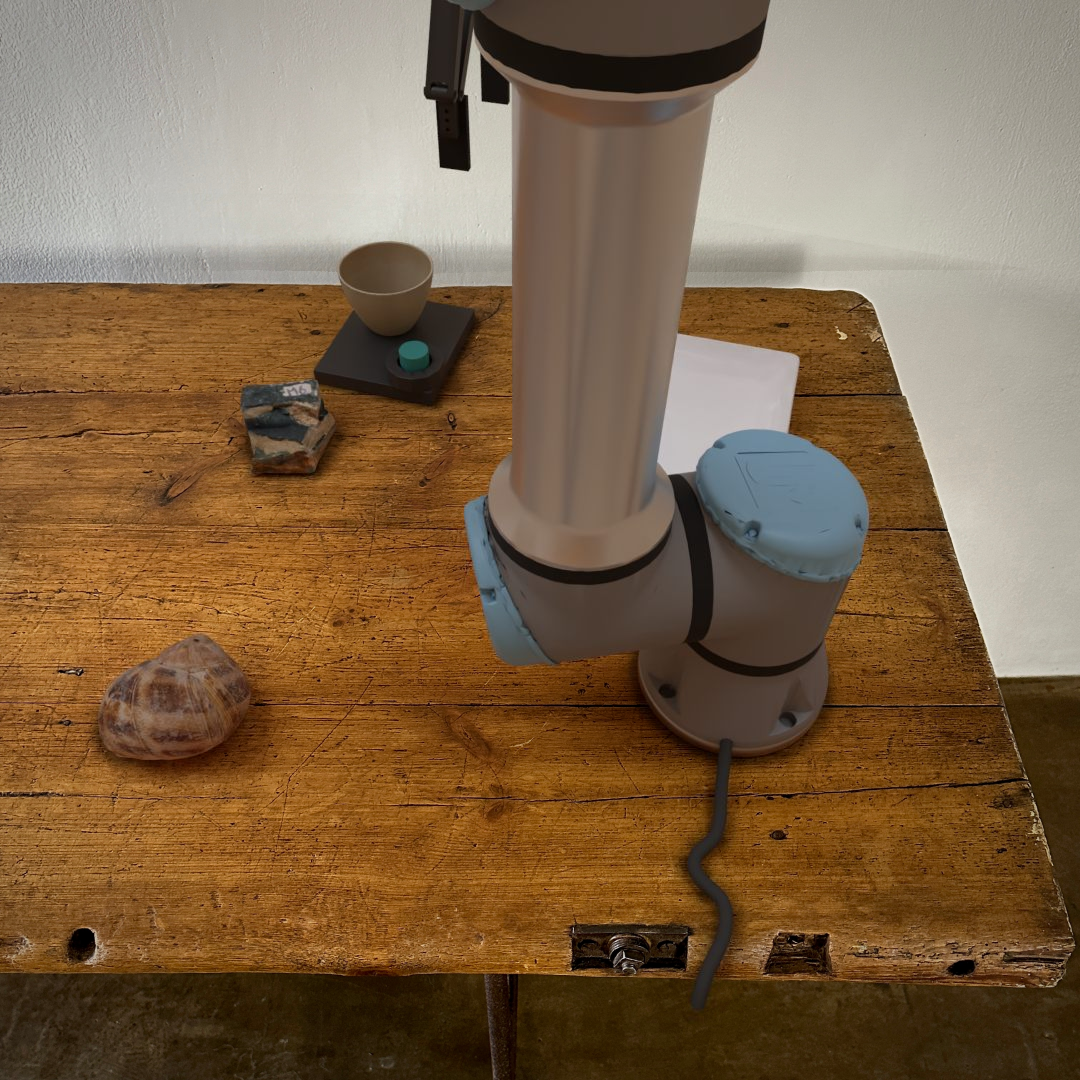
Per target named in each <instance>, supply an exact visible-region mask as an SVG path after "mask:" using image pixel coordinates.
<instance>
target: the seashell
mask: <svg viewBox="0 0 1080 1080" xmlns="http://www.w3.org/2000/svg"><path fill="white" fill-rule="evenodd" d="M251 692H252V691H251V687H250V683H249V681H248V678H247V676H246V673H245V672H244V671H243V669H242V668H241V666H240V665H239V663H238V662H237V661H236V660H235V659H233V657H231V656H230V655H229V654H228V653H227V652H226V651H225V650H224V648H223V647H222V646H221V645H220V644H219V643H217V642H216V641H215V640H213V639H212V638H211V637H210V636H208V635H206V634H204V633H195V634H193V635H191V636H187V637H186V638H184V639H182V640H180V641H177V642H175V643H172V644H170V645H169V646H167V647H166V648H164V649H162V650H161V652H160V653H159V654H158V656H157V657H156V658H152V659H147V660H144V661H142V662H140V663H138V664H135V665H134V666H131V667H129V668H127V669H126V670H124V671H123V672H122V673H121V674H120V675H118V676H117V677H116V678H115V679H113V680H112V681H111V683H110V684H109V686H108V687H107V689H106V691H105V693H103V696H102V697H101V702H100V704H99V708H98V714H97V724H98V729H99V736H100V739H101V741H102V743H103V745H104V746H105V748H106V750H107V751H110V752H112V753H113V754H114V755H115V756H116V757H119V758H131V759H137V760H141V761H145V760H146V761H149V760H151V761H158V760H172V761H173V760H179V759H186V758H189V757H194V756H198V755H200V754H203V753H205V752H208V751H210V750H212V749H213V748H215V747H217V746H218V745H220V744H222V743H224V742H226V741H227V740H229V738H230V736H231V735H232V734H233V733H234V731H235V730H237V729H238V726H239V725H240V723H242V721H243V719H244V718H245V716H246V714H247V711H248V709H249V707H250V702H251V698H252V697H251V696H252V693H251Z"/></svg>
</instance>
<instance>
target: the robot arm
mask: <svg viewBox="0 0 1080 1080" xmlns="http://www.w3.org/2000/svg"><path fill="white" fill-rule="evenodd" d="M770 4H771V0H430V10H429V12H430V13H429V26H428V27H429V28H428V42H427V55H426V57H427V58H426V68H425V69H426V70H425V72H426V73H425V83H424V84H425V86H423V96H424V98H425V99H426V100H428V101H435V116H436V118H435V119H436V129H437V130H436V131H437V133H436V134H437V146H438V147H437V148H438V163H439V169H447V170H453V171H461V172H467V173H468V172H470V170H471V168H472V162H471V161H472V159H471V158H472V157H471V135H470V133H471V132H470V110H469V108H470V107H469V95H468V94H465V89H466V82H467V76H468V68H469V60H470V54H471V48H472V42H473V38H474V43H475V45H476V47H477V50H478V51H479V59H480V60H479V62H480V63H479V64H480V95H481V96H480V97H481V98H480V100H481V102H482V103H490V104H497V105H503V106H504V105H505V106H508V105H509V104H510V102H511V332H512V333H511V358H512V359H511V394H512V395H511V404H512V405H511V413H512V418H511V419H512V420H511V421H512V423H511V424H512V425H511V426H512V428H511V429H512V432H511V433H512V435H511V437H512V438H511V440H512V441H511V442H512V445H511V447H512V451H510V452H509V453H508V454H507V455H506V456H505V457H504V458H503V459H502V460H501V461H500V462H499V464H497V467H496V468H495V470H494V472H493V474H492V475H491V478H490V482H489V487H488V493H487V494H482V495H480V496H478V498H475V499H472V500H470V501H469V500H468V502H467V503H466V504H465V505H464V508H463V518H464V519H463V520H464V524H465V530H466V536H467V541H468V546H469V547H468V548H469V552H470V556H471V561H472V566H473V571H474V576H475V579H476V584H477V586H478V592H479V597H480V600H481V607H482V611H483V615H484V620H485V623H486V628H487V631H488V636H489V639H490V642H491V646H492V648H493V651H494V654H495V655H496V656H497V658H499V660H501V662H503V663H504V664H506V665H508V666H511V667H527V666H536V665H547V666H551V667H552V666H553V667H556V666H558V665H561V664H562V663H569V662H574V661H575V662H576V661H581V660H587V659H594V658H599V657H600V658H601V657H606V656H614V655H619V654H626V653H633V652H638V656H637V668H636V669H637V679H638V683H639V688H640V690H641V693H642V695H643V698H644V700H645V701H646V703H647V706H648V707H649V708H650V710H651V712H652V713H653V714H654V716H655V717H656V718H657V719H658V720H659V721H660V722H661V723H662V724H663V725H664V727H666V728H667V729H668V730H669V731H670V732H671V733H673V734H674V735H675V736H677V737H678V738H679V739H682V740H683V741H685V742H687V743H688V744H690V745H693V746H695V747H697V748H699V749H702V750H704V751H707V752H710V753H713V754H716V755H718V757H717V765H716V766H717V767H716V774H715V782H714V794H713V795H714V797H713V799H714V800H713V816H712V822H711V825H710V827H709V831H708V833H707V834H706V836H705V837H703V839H701V840H699V842H698V843H696V844H695V845H694V846H693V847H692V848H691V850H690V851H689V854H688V857H687V872H688V875H689V877H690V879H691V880H692V882H693V883H694V884H695V885H696V886H697V887H698V889H700V890H701V892H703V893H704V894H705V895H706V896H708V898H710V899H711V900H712V901H713V903H714V904H715V906H716V907H717V908H716V909H717V912H718V928H717V932H716V934H715V937H714V939H713V941H712V944H711V946H710V947H709V950H708V952H707V954H706V955H705V957H704V960H703V961H702V964H701V965H700V967H699V971H698V973H697V976H696V979H695V982H694V985H693V989H692V992H691V995H690V1005H691V1007H692V1009H693V1010H695V1011H697V1012H700V1011H702V1010H704V1008H705V1006H706V1003H707V999H708V996H709V992H710V989H711V985H712V982H713V980H714V978H715V975H716V973H717V971H718V969H719V966H720V965H721V963H722V960H723V958H724V957H725V955H726V952H727V950H728V948H729V945H730V942H731V939H732V935H733V929H734V911H733V907H732V903H731V900H730V898H729V896H728V895H727V893H726V892H725V891H724V890H723V888H721V886H719V885H718V884H717V883H716V882H714V881H713V880H712V879H711V878H710V877H709V876H708V875H707V873H705V871H704V870H703V868H702V861H703V859H704V858H705V857H706V856H707V855H709V854H710V853H711V852H712V851H713V850H714V849H715V848H716V847H717V846H718V845H719V844H720V842H721V840H722V838H723V836H724V833H725V829H726V825H727V819H728V818H727V817H728V795H729V782H730V773H731V763H732V757H735V758H736V757H737V758H751V757H759V756H765V755H769V754H773V753H776V752H778V751H781V750H784V749H785V748H788V747H790V746H791V745H793V744H794V743H796V742H798V741H799V740H800V739H801V738H802V737H804V736H805V734H807V732H808V731H810V729H811V728H812V726H813V725H814V724H815V722H816V721H817V718H818V717H819V714H820V712H821V710H822V708H823V705H824V703H825V700H826V697H827V692H828V687H829V686H828V685H829V675H830V673H829V663H828V656H827V655H828V654H827V647H826V639H825V638H826V635H827V634H828V631H829V629H830V627H831V623H832V622H833V619H834V617H835V614H836V612H837V609H838V607H839V604H840V603H841V600H842V598H843V596H844V593H845V592H846V589H847V587H848V585H849V583H850V580H851V578H852V576H853V573H854V572H855V571H856V570H857V569H858V567H859V565H860V563H861V560H862V557H863V548H864V544H865V541H866V537H867V535H868V530H869V525H870V509H869V504H868V500H867V497H866V495H865V492H864V490H863V487H862V486H861V484H860V482H859V481H858V480H857V477H856V476H855V475H854V473H852V472H851V470H850V469H849V468H848V467H847V465H845V464H844V463H843V462H842V461H841V460H840V459H838V458H837V457H836V456H835V455H834V454H832V453H830V452H829V451H828V450H825V449H824V448H821V447H818V446H816V445H815V444H813V442H811V441H810V440H808V439H805V438H803V437H800V436H798V435H795V434H791V433H789V432H788V433H784V432H780V431H774V430H766V429H748V430H741V431H736V432H733V433H730V434H727V435H725V436H723V437H721V438H719V439H718V440H716V441H715V442H714V444H713V446H712V447H711V448H709V449H707V450H706V451H705V453H704V454H703V455H702V456H701V457H700V459H699V460H698V464H697V466H696V471H694V472H686V473H679V474H671V475H667V473H666V472H665V471H664V469H663V468H662V467H661V465H660V464H659V463H658V462H657V460H658V454H659V448H660V441H661V435H662V429H663V422H664V416H665V410H666V403H667V397H668V391H669V384H670V378H671V371H672V365H673V359H674V352H675V346H676V340H677V333H678V332H679V328H680V320H681V314H682V307H683V301H684V294H685V289H686V283H687V275H688V270H689V262H690V257H691V251H692V250H691V249H692V244H693V237H694V231H695V225H696V218H697V211H698V205H699V199H700V193H701V186H702V181H703V175H704V169H705V168H704V167H705V161H706V155H707V149H708V142H709V135H710V129H711V128H710V127H711V123H712V116H713V112H714V111H713V110H714V105H715V98H716V95H717V94H718V95H719V93H721V92H722V91H724V89H726V88H727V87H729V86H730V85H732V84H733V83H735V82H736V81H737V80H739V79H740V78H741V77H743V76H744V75H745V74H747V73H748V72H749V71H750V70H751V69H753V67H754V65H755V64H756V62H757V60H758V59H759V57H760V53H761V49H762V45H763V40H764V35H765V29H766V25H767V20H768V13H769V8H770ZM473 35H474V36H473ZM678 334H679V333H678Z"/></svg>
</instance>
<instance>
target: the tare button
mask: <svg viewBox="0 0 1080 1080" xmlns="http://www.w3.org/2000/svg"><path fill="white" fill-rule="evenodd" d="M399 357H400V365H401V367H402V368H403V369H404V370H406V371H411V372H415V371H422V370H424V369H426V368H427V367H428V365H429V352H428V347H427V345H426V344H424V343H423V342H420V341H409V342H406V343H404V344H402V345H401V346H400V348H399Z"/></svg>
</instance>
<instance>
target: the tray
mask: <svg viewBox="0 0 1080 1080" xmlns="http://www.w3.org/2000/svg"><path fill="white" fill-rule="evenodd" d="M800 363H801V362H800V357H799V356H798V355H797V354H796V353H795V354H794V353H792V352H787V351H782V350H776V349H772V348H764V347H759V346H753V345H747V344H741V343H736V342H729V341H725V340H718V339H714V338H713V339H712V338H706V337H701V336H695V335H689V334H684V333H683V334H682V333H677V340H676V346H675V352H674V359H673V365H672V371H671V378H670V384H669V391H668V397H667V403H666V410H665V416H664V422H663V429H662V435H661V441H660V448H659V454H658V460H657V462H658V463H659V464H660V465H661V467H662V468H663V469H664V471H665V472H666V473H667V475H671V474H679V473H686V472H694V471H696V466H697V464H698V460H699V459H700V457H701V456H702V455H703V454H704V453H705V451H706V450H707V449H709V448H711V447H712V446H713V444H714V442H715V441H716V440H718V439H719V438H721V437H723V436H725V435H727V434H730V433H733V432H736V431H741V430H748V429H766V430H774V431H780V432H784V433H788V434H789V431H790V425H791V424H790V423H791V418H792V412H793V405H794V399H795V392H796V387H797V383H798V382H797V380H798V377H799V370H800Z"/></svg>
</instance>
